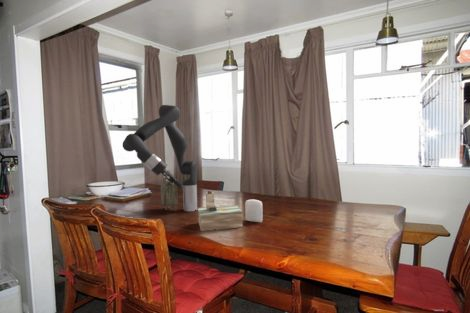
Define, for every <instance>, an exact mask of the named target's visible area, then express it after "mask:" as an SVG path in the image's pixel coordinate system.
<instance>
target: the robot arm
mask: <svg viewBox="0 0 470 313" xmlns="http://www.w3.org/2000/svg"><path fill="white" fill-rule="evenodd" d="M158 116H159V118H156V119H153V120H151V121H150V120H149V121H148V122H146V123H144V124H143V125H142V126H140V127H138V129H137V130H135V132H134V133H129V134H127V136H125V138H124V140H123V141H122V148H123V150H125V152H134V151H135V153H136V157H137V159H139V161H141V163H143V164H144V165H145V166H146V168H148V169H149V170H150V171H151V172H152V173H154V175H156V176H159V175H160V174H162V177H163V178H164V179H165V180H166V181H167V180H168V181H170V182H171V183H173V184H175V185H176V186H177V189H180V188H181V187H182V200H183V202H182V203H183V211H184V212H195V210H196V211H198V187H197V186H198V185H197V184H198V183H197V181H198V165H197V163H196V161H195V160H185V157H184V156H185V153H186V151H187V149H188V148H187V147H188V144H187V140H186V137H185V134H183V132H182V131H181V130H180V129H179V128H178V126H177V125H176V124H175V122H177V121H178V120H179V118H180V116H181V111H180V109H179V107H178V106H176V105H171V104H161V106H159V109H158ZM163 128H164V129H165V130H166V133H167V136H168V139H169V141H170V145H171V147H172V149H173V152H174V156H175V158H176V162H177V165H178V169H179V172H180V174H182V175H187V176H189V177H188V178H187V179H185V180H183V181H182V183H180V182H179V181H178V179H177V178H176V177H175V175H174V174H172V173H171V171H170V170H168V169H166V168H167V166H168V164H167V163H166V162H165V161H163V160H162V159H161V158H160V157H159V156H158V155H157V154H155V153H154V152H152V151H151V150H150V149H149V148H148V147H147V145H146V144H145V141H146V140H148V139H149V138H151V137H152V136H153V135H155V134H156V133H157V132H160V130H162V129H163Z"/></svg>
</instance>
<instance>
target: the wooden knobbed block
mask: <svg viewBox="0 0 470 313" xmlns="http://www.w3.org/2000/svg"><path fill="white" fill-rule="evenodd" d="M205 203H206V204H205V207H206V209H207V211H209V208H213V207H214V205H215V193H214V192H213V191H212V190H207V192H206V193H205Z"/></svg>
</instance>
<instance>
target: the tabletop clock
mask: <svg viewBox="0 0 470 313" xmlns="http://www.w3.org/2000/svg"><path fill="white" fill-rule="evenodd" d="M160 199H161V200H160V201H161V205H162V206H163V207H166V208H165V209H164V210H165V211H166V210H167V211H168V210H169V208H168V207H170V208H171V209H173V212H177V208H175V206H178V203H179V202H178V187H177V186H176V185H175V184H173V183H171V182H170V181H168V180H167V179H166V181H165V182H164V184H162V185H160Z"/></svg>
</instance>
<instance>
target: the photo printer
mask: <svg viewBox="0 0 470 313" xmlns="http://www.w3.org/2000/svg"><path fill="white" fill-rule="evenodd" d="M244 205H245V206H244V211H245V216H244V218H245V221H247V222H248V221H249V222H253V223H262V222H263V220H264V219H263V218H264V217H263V202H262V201H261V200H258V199H253V198H252V199H247V200H245V203H244Z"/></svg>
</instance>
